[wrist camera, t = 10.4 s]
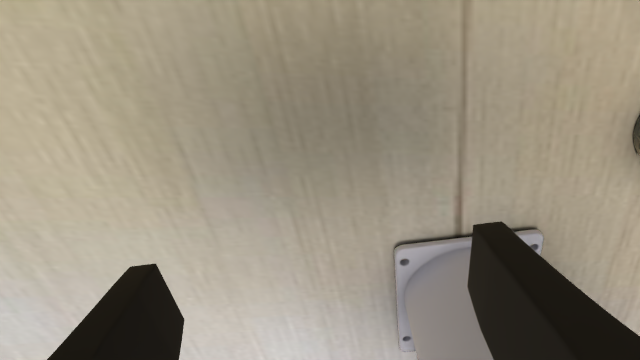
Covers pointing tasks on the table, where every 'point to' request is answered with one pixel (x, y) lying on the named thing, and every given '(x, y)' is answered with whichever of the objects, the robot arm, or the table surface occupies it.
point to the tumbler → (637, 136)
